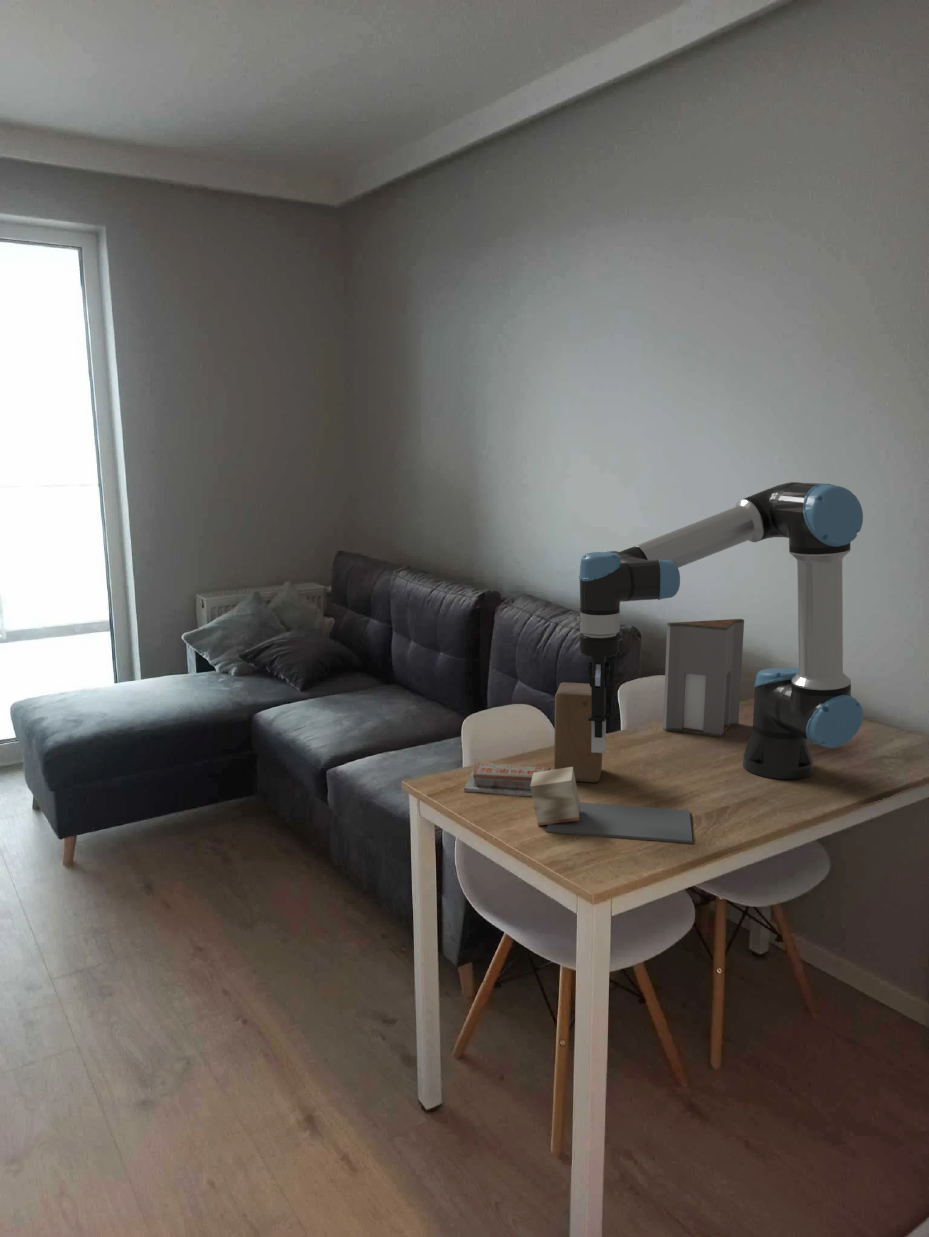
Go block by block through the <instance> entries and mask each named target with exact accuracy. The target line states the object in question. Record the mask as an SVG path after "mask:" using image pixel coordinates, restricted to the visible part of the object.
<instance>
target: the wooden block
mask: <svg viewBox="0 0 929 1237" xmlns="http://www.w3.org/2000/svg"><path fill="white" fill-rule="evenodd" d="M554 706H555V707H554V740H553V742H554V744H553V753H554V754H553V770H554V769H561V768H568V767H573V770H574V775H575V780H576V782H583V783H585V782H586V783H598V782H599V781H600V779H601V775H602V774H601V772H602V769H603V768H602V767H603V753H594V752H591V731H592V721H588V717H591V716H592V699H591V687H590V683H584V682H583V683H581V682H579V683H578V682H565V681H564V682H560V683H559V685H558V687H557V691H556V693H555V696H554Z"/></svg>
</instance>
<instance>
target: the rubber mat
mask: <svg viewBox="0 0 929 1237" xmlns="http://www.w3.org/2000/svg"><path fill="white" fill-rule="evenodd" d="M545 832H546V833H554V834H555V833H557V834H569V835H578V836H579V835H581V836H595V837H604V838H605V837H607V838H617V839H618V838H619V839H628V840H629V839H632V840H644V841H646V840H647V841H655V842H657V841H658V842H669V843H670V842H671V843H680V844H681V843H682V844H693V834H692V832H693V831H692V821H691V813H690V810H689V809H678V808H677V809H676V808H662V807H651V806H650V807H649V806H637V805H625V804H624V805H622V804H621V805H620V804H609V803H608V804H607V803H595V802H584V801H583V802H581V801H580V815H579V820H575V821H568V822H561V823H554V824H547V826H546V831H545Z"/></svg>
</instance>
